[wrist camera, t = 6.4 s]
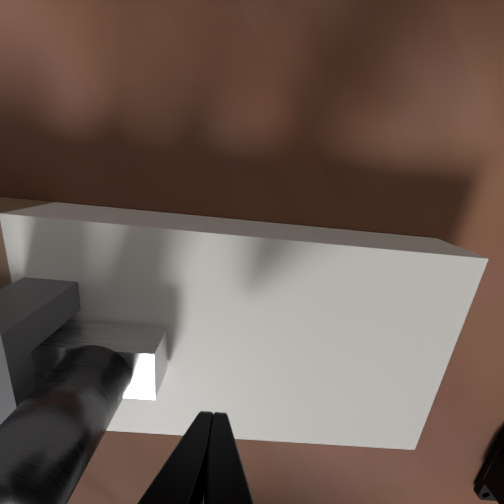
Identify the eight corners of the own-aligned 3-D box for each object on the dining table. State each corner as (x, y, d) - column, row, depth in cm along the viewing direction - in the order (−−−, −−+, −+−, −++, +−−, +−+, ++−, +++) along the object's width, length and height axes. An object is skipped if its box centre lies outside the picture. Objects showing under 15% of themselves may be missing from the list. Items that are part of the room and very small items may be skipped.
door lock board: (436, 238, 13) (598, 301, 7) (385, 399, 16) (467, 541, 10) (-81, 189, 12) (-409, 214, 6) (-32, 370, 15) (-218, 507, 9)
